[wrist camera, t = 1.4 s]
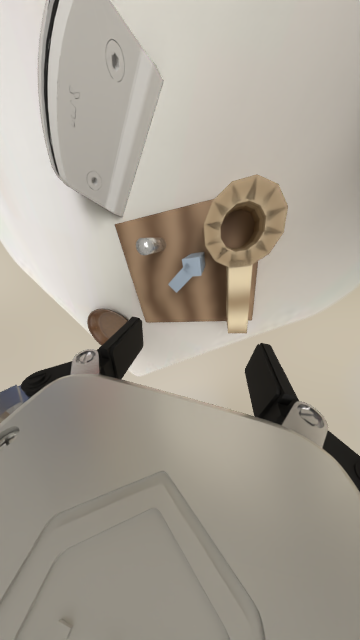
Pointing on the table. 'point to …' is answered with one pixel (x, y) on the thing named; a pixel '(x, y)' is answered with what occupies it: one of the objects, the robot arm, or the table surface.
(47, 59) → the white rounded block
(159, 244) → the peg
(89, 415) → the robot arm
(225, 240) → the board
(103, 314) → the saucer
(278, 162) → the table surface
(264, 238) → the link
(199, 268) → the bracket
